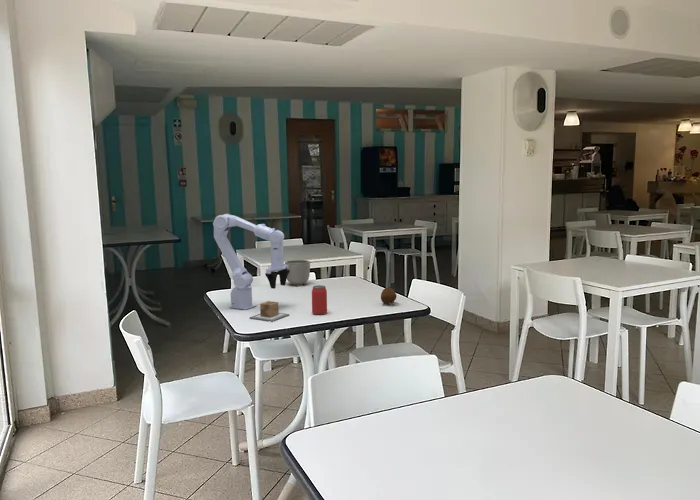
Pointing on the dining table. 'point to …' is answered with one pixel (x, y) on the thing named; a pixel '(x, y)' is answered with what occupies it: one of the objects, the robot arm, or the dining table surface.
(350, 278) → the dining table surface
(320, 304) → the beer can
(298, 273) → the planter
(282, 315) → the slate coaster
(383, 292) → the potato
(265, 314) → the walnut block
